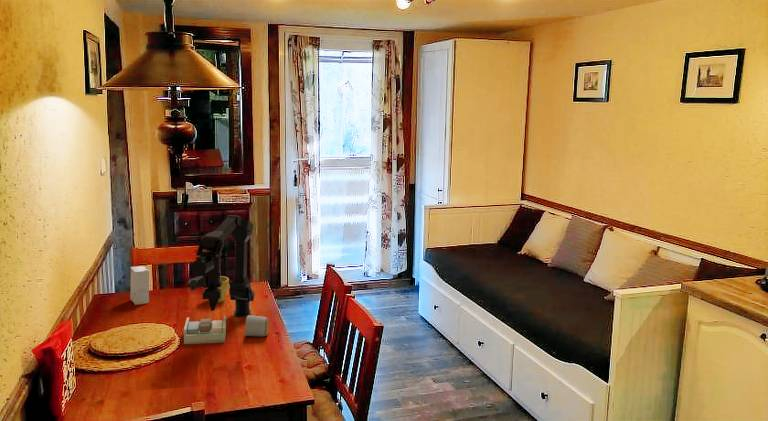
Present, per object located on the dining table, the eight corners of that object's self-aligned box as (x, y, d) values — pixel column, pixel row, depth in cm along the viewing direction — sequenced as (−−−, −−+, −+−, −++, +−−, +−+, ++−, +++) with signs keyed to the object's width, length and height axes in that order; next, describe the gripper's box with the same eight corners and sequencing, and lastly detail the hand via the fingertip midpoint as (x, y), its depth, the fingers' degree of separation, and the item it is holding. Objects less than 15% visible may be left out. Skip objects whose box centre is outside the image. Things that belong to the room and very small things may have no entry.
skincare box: (130, 300, 259) (129, 266, 257) (144, 297, 263) (143, 265, 260) (135, 305, 253) (134, 271, 250) (150, 303, 256) (149, 269, 254)
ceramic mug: (266, 339, 222) (267, 319, 220) (244, 339, 221) (244, 319, 220) (270, 329, 232) (270, 310, 231) (249, 329, 232) (249, 310, 230)
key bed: (187, 331, 227) (186, 317, 226) (225, 329, 230) (225, 315, 229) (184, 344, 214) (183, 329, 213) (224, 342, 217) (224, 327, 216)
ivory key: (212, 326, 226) (212, 320, 226) (222, 326, 227) (222, 320, 226) (211, 334, 218) (211, 328, 218) (222, 333, 219) (221, 327, 219)
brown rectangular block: (201, 324, 225) (201, 318, 224) (211, 324, 226) (211, 318, 225) (199, 332, 217) (199, 326, 217) (210, 332, 218) (210, 326, 218)
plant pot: (218, 305, 256) (217, 283, 255) (199, 301, 261) (199, 280, 259) (233, 299, 266) (233, 278, 264) (215, 295, 270) (215, 274, 268)
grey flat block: (189, 327, 224) (189, 321, 224) (199, 327, 225) (199, 321, 224) (187, 335, 216) (187, 329, 216) (198, 335, 217) (198, 328, 217)
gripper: (191, 263, 225) (191, 303, 228) (187, 277, 207) (187, 320, 210) (221, 262, 228) (221, 302, 230) (220, 276, 210) (220, 318, 212)
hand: (212, 310), depth 221 cm, fingers closed
